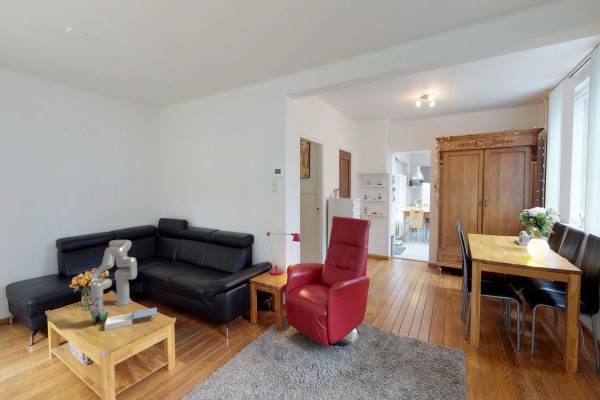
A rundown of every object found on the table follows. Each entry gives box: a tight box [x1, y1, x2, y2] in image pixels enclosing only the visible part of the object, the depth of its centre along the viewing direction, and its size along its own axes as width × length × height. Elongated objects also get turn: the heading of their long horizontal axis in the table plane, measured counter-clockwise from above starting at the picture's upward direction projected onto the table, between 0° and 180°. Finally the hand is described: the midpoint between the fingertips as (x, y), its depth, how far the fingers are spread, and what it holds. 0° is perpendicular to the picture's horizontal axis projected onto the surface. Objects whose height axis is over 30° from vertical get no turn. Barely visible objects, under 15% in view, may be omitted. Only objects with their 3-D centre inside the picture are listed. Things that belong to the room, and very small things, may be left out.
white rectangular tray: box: [104, 312, 134, 332], centre depth 213 cm, size 12×17×4 cm
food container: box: [89, 308, 109, 326], centre depth 214 cm, size 12×6×10 cm, turn 106°
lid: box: [131, 307, 158, 320], centre depth 221 cm, size 12×17×3 cm
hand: (98, 320), depth 215 cm, fingers closed on food container, 5 cm apart
